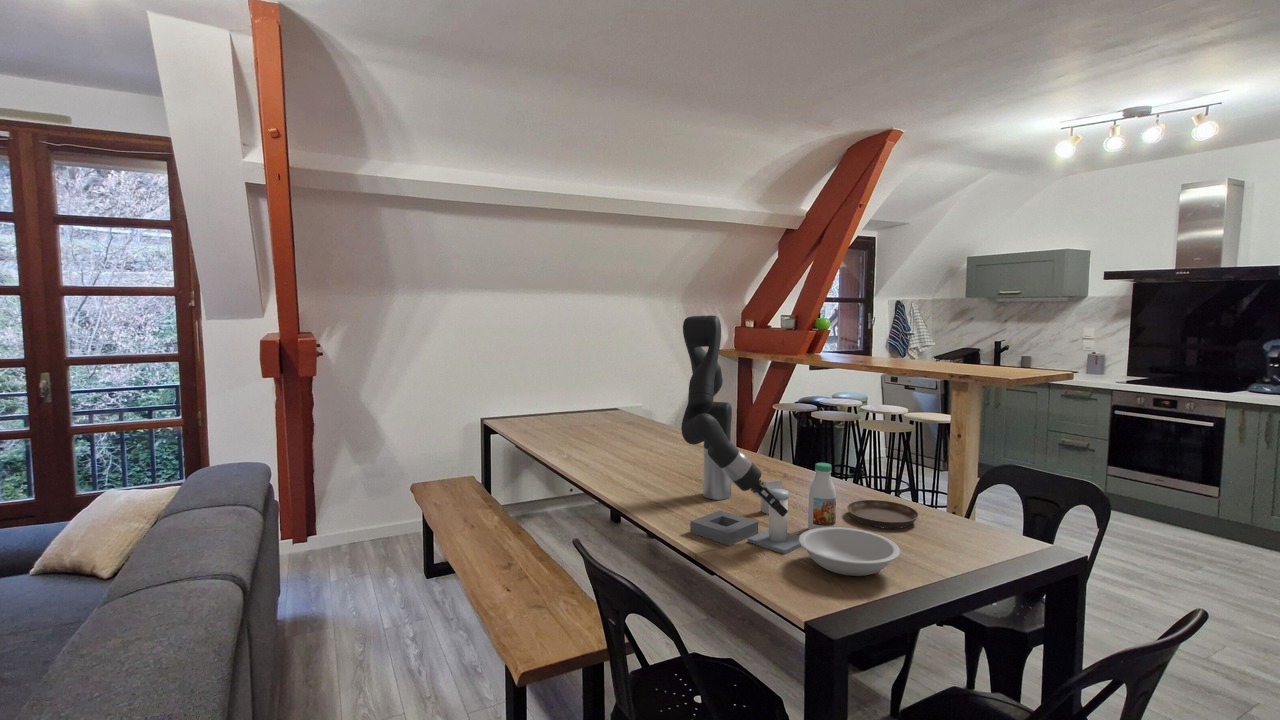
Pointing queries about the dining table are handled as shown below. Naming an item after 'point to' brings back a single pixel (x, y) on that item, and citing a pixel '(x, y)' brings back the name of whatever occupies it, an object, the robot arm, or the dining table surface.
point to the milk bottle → (822, 499)
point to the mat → (780, 547)
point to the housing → (724, 527)
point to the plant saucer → (882, 513)
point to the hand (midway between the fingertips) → (779, 509)
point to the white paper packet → (770, 486)
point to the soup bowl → (849, 550)
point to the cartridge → (778, 517)
